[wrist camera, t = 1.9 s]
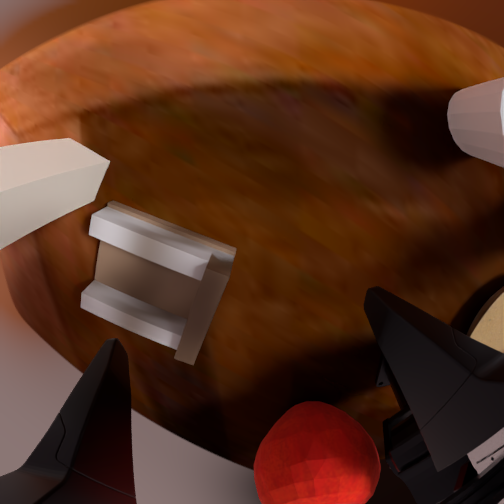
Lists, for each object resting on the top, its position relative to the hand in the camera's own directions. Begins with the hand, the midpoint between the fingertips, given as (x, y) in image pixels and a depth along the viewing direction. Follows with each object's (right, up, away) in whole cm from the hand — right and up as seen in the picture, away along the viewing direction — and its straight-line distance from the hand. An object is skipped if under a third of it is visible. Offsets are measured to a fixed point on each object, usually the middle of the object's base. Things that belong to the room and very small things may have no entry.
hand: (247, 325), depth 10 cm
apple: (+6, -15, +18) cm, 25 cm away
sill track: (-7, +1, +12) cm, 14 cm away
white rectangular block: (-13, +9, +9) cm, 18 cm away
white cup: (+18, +13, +7) cm, 23 cm away
